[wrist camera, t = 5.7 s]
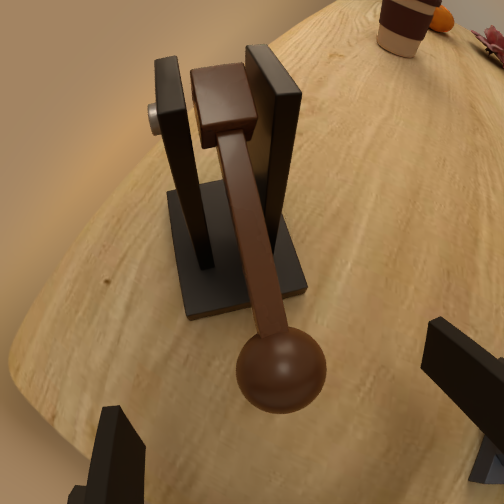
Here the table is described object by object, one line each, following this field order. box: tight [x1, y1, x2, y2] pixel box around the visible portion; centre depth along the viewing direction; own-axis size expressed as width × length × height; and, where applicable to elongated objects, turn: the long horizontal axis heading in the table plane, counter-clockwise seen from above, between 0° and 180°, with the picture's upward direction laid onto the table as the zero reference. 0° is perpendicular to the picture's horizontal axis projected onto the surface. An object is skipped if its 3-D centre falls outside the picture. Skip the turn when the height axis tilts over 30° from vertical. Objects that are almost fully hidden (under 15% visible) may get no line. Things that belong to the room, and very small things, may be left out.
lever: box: [190, 62, 327, 414], centre depth 12 cm, size 14×4×4 cm, turn 15°
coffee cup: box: [377, 0, 442, 58], centre depth 34 cm, size 10×10×15 cm
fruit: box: [429, 5, 454, 32], centre depth 49 cm, size 10×10×8 cm
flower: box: [471, 25, 504, 69], centre depth 46 cm, size 15×15×10 cm
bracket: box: [148, 44, 308, 320], centre depth 16 cm, size 10×8×14 cm
